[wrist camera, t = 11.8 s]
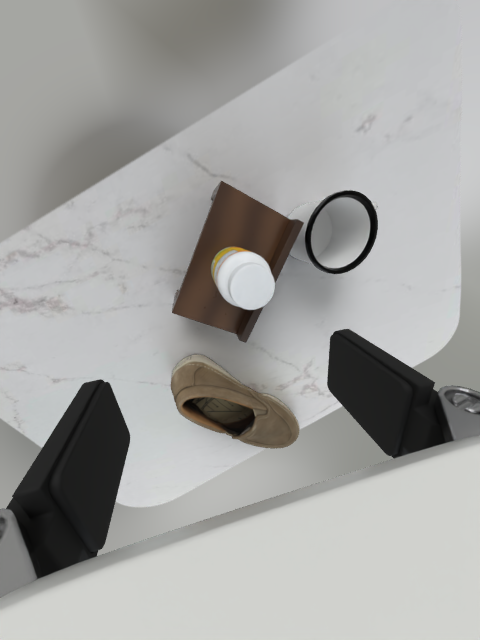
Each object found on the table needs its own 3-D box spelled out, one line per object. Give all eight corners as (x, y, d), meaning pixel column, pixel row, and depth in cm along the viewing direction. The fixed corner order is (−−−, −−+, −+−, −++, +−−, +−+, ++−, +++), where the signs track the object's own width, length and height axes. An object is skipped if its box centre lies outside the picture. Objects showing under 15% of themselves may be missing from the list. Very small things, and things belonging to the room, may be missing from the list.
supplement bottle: (261, 271, 29) (294, 291, 20) (229, 298, 30) (247, 329, 21) (236, 236, 27) (260, 241, 18) (201, 266, 27) (208, 284, 19)
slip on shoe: (302, 415, 50) (324, 452, 42) (264, 447, 52) (279, 489, 44) (204, 334, 38) (209, 363, 30) (158, 378, 40) (151, 418, 32)
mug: (293, 275, 38) (323, 288, 30) (268, 220, 34) (294, 218, 26) (355, 235, 38) (403, 238, 29) (337, 176, 34) (386, 160, 25)
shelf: (174, 297, 35) (170, 318, 27) (214, 189, 31) (224, 176, 23) (233, 318, 38) (246, 342, 30) (276, 223, 34) (304, 222, 26)
